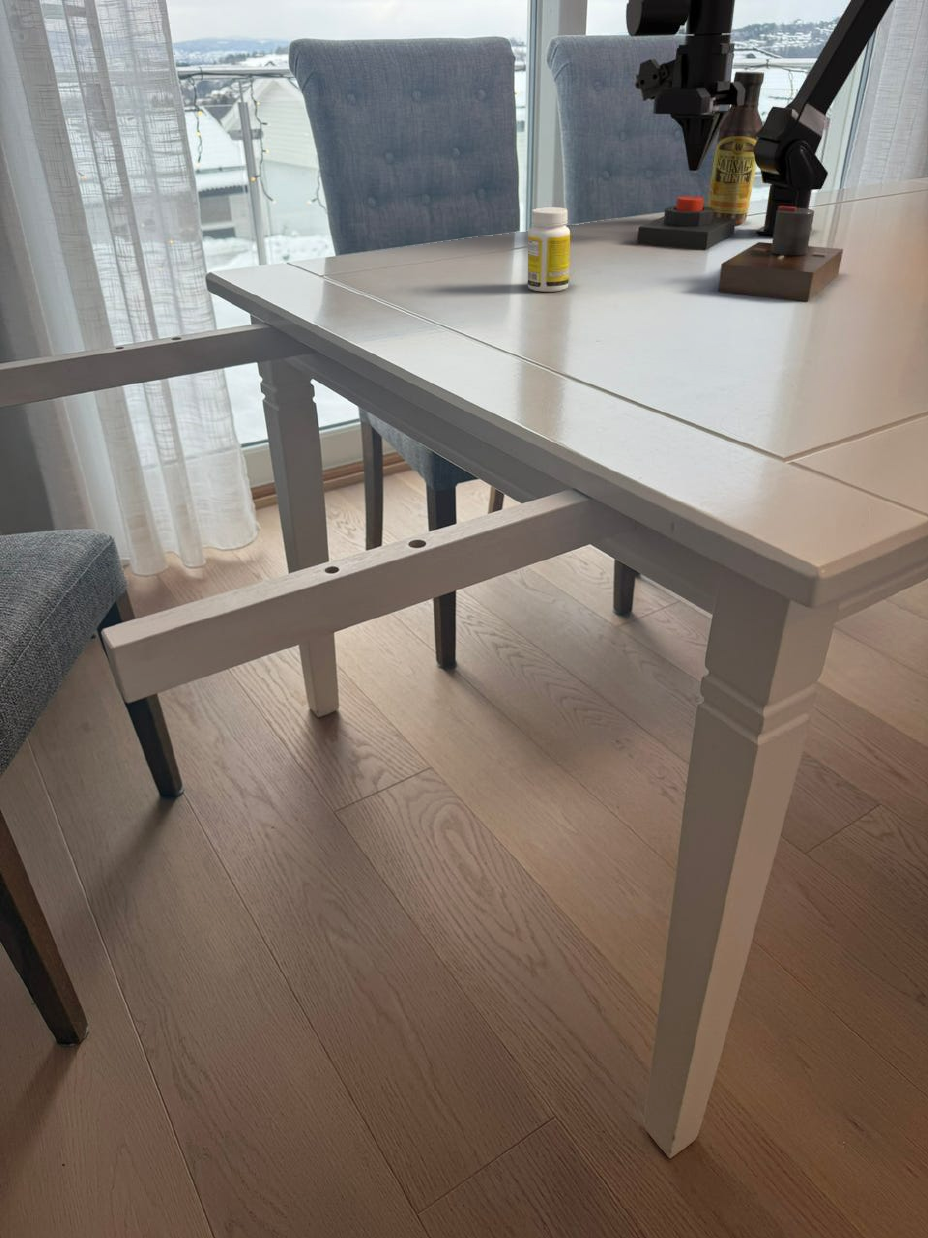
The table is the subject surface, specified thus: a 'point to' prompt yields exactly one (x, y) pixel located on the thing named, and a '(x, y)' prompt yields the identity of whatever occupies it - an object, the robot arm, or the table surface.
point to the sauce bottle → (737, 153)
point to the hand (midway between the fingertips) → (693, 170)
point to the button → (689, 203)
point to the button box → (686, 229)
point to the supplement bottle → (548, 250)
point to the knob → (792, 231)
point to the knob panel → (780, 272)
